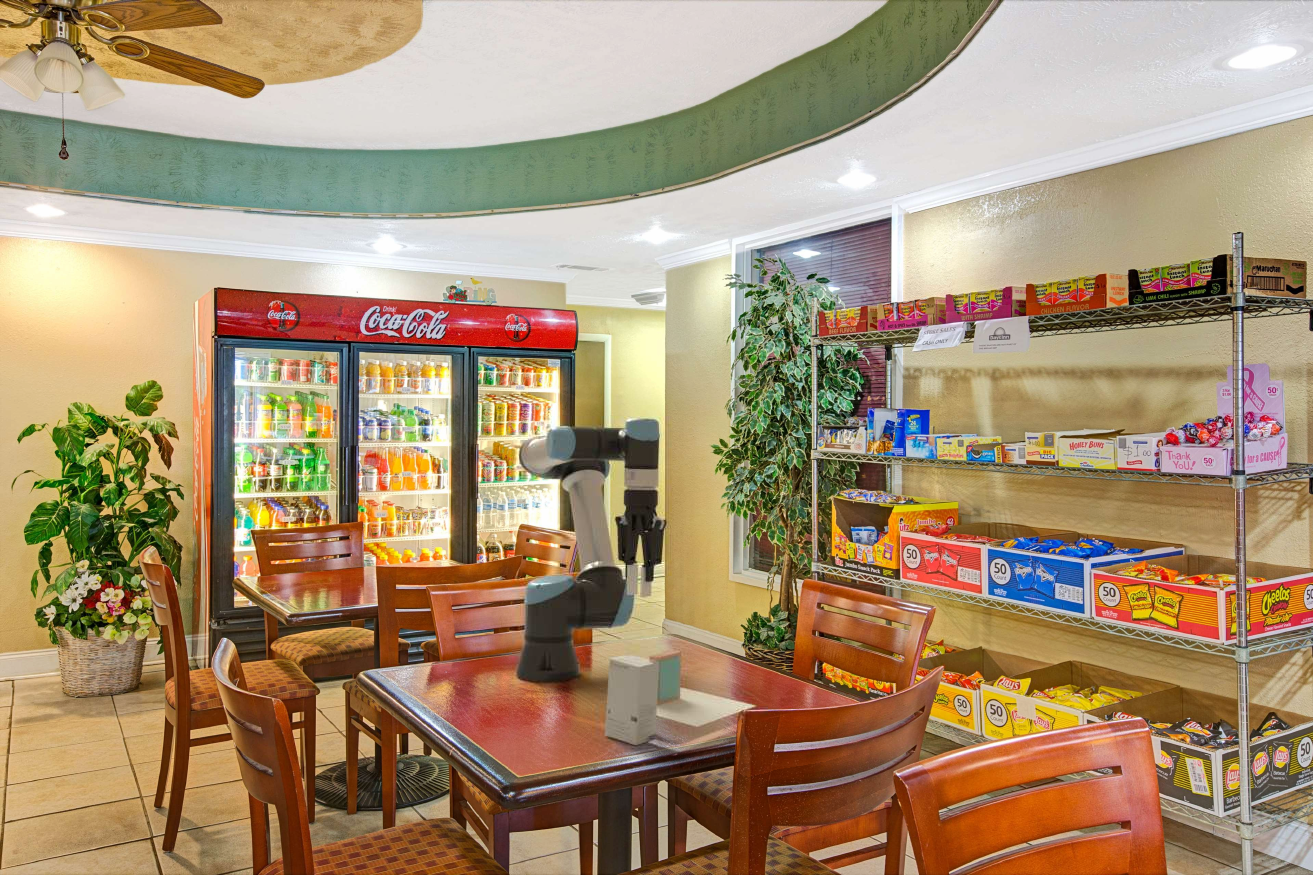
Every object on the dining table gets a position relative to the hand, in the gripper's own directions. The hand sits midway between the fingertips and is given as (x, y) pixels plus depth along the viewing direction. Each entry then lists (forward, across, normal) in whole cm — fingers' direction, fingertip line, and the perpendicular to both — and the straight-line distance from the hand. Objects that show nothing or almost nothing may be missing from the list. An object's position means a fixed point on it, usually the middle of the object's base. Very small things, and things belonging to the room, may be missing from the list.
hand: (638, 595), depth 196 cm
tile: (+22, +8, 0) cm, 23 cm away
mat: (+23, +12, +1) cm, 26 cm away
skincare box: (+23, +17, -20) cm, 35 cm away
